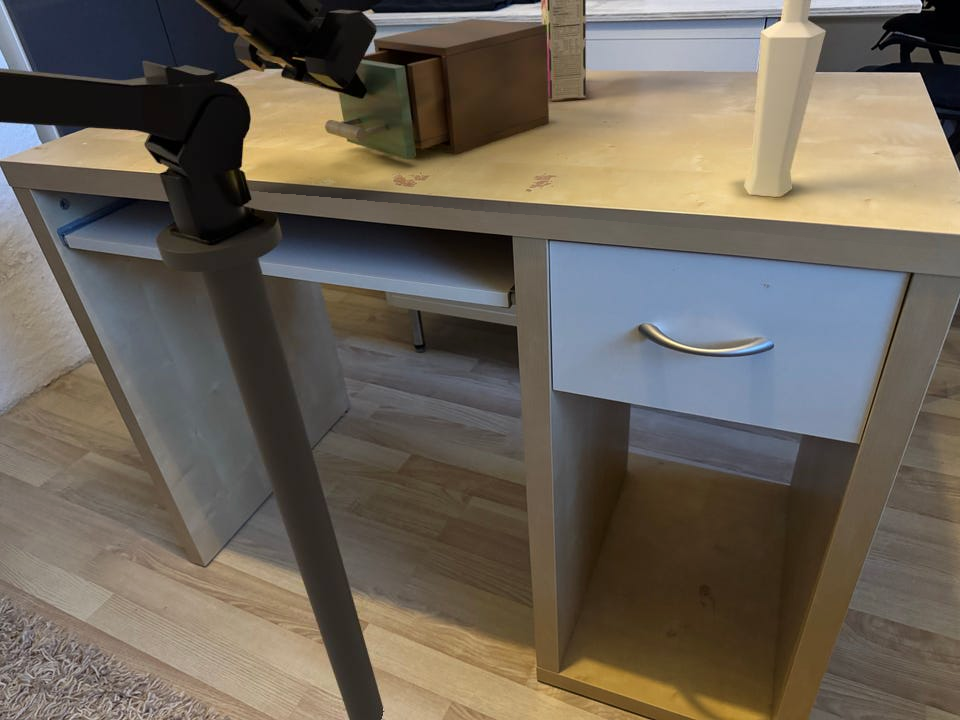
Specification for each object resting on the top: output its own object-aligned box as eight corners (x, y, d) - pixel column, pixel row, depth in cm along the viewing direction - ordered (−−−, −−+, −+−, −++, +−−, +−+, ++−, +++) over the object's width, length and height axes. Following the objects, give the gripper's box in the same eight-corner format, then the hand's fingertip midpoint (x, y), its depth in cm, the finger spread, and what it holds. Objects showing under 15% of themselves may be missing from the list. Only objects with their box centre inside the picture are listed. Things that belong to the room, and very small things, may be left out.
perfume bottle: (752, 176, 61) (780, -13, 53) (801, 185, 59) (839, -13, 50) (727, 191, 59) (752, -5, 50) (778, 201, 56) (813, -4, 48)
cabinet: (455, 154, 73) (445, 47, 68) (387, 136, 82) (373, 39, 76) (549, 122, 81) (547, 24, 75) (478, 108, 89) (471, 18, 83)
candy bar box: (541, 84, 98) (538, -49, 89) (576, 81, 98) (576, -52, 89) (548, 102, 89) (545, -43, 80) (586, 99, 89) (588, -47, 80)
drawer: (376, 169, 68) (361, 76, 63) (317, 150, 76) (299, 65, 71) (502, 128, 77) (497, 43, 72) (439, 114, 85) (430, 36, 80)
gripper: (335, -103, 53) (458, 30, 65) (230, -90, 65) (350, 20, 77) (269, 26, 53) (403, 135, 65) (176, 16, 65) (304, 109, 77)
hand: (363, 94), depth 71 cm, fingers closed, pressing on drawer
